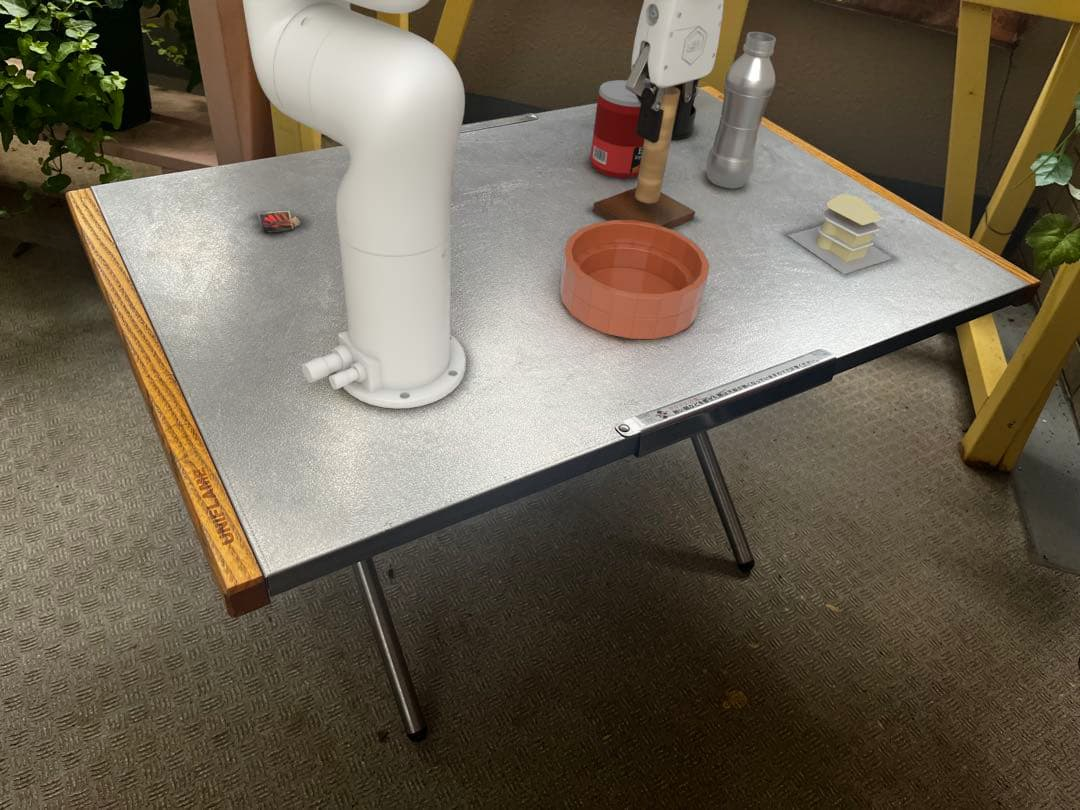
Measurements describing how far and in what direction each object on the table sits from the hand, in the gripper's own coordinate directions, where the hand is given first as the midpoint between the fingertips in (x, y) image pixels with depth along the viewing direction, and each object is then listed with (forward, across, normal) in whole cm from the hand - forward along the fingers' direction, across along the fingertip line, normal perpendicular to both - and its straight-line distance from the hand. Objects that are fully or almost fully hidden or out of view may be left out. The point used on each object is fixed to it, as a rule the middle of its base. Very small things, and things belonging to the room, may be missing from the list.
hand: (658, 133), depth 98 cm
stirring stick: (+9, 0, 0) cm, 9 cm away
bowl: (+11, -16, -13) cm, 23 cm away
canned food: (+11, +7, +12) cm, 18 cm away
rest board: (+11, 0, 0) cm, 11 cm away
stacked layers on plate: (+11, +16, -20) cm, 28 cm away
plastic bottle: (+11, +17, 0) cm, 20 cm away
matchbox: (+11, -40, +23) cm, 47 cm away
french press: (+11, +23, +18) cm, 31 cm away
